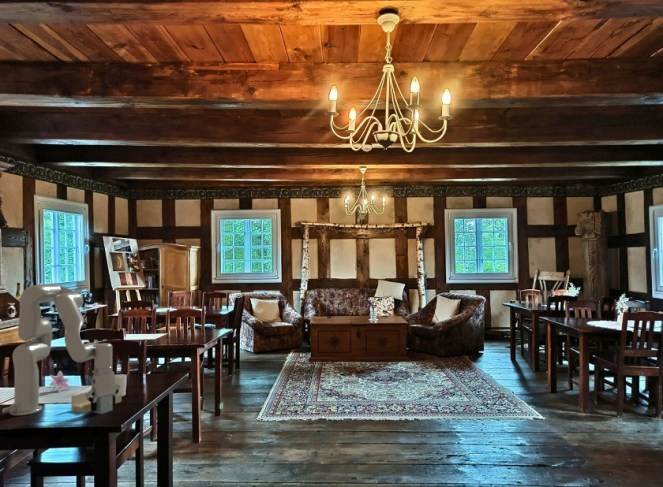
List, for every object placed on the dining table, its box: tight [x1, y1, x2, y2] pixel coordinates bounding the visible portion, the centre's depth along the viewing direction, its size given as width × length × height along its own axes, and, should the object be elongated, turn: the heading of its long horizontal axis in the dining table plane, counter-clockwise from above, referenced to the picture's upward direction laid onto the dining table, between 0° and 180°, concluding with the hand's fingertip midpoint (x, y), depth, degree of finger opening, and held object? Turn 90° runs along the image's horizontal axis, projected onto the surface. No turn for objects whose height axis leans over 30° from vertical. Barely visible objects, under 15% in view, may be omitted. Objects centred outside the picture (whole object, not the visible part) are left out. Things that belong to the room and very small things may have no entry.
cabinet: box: [93, 394, 113, 415], centre depth 217 cm, size 6×6×8 cm
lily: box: [49, 370, 71, 393], centre depth 255 cm, size 12×12×10 cm
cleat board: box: [70, 390, 122, 414], centre depth 225 cm, size 20×9×7 cm, turn 152°
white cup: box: [115, 373, 128, 397], centre depth 243 cm, size 8×8×10 cm
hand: (103, 407), depth 217 cm, fingers open, 9 cm apart
